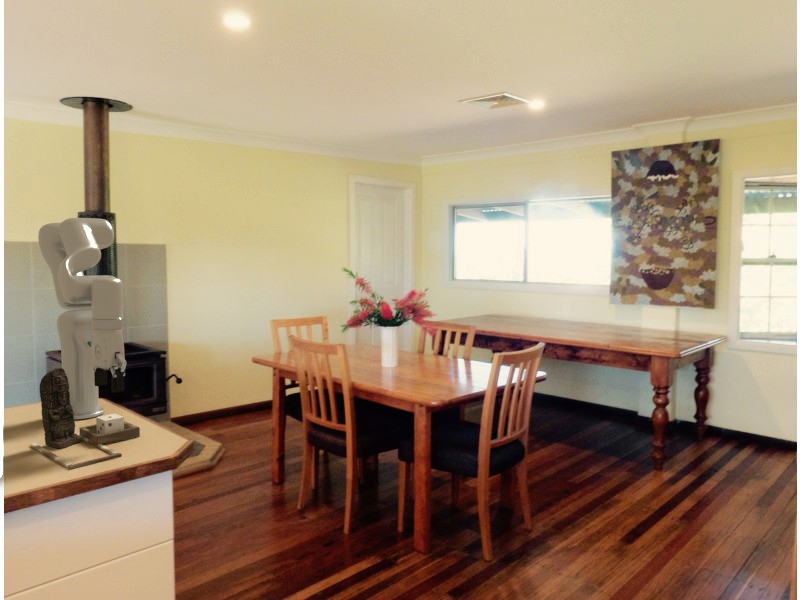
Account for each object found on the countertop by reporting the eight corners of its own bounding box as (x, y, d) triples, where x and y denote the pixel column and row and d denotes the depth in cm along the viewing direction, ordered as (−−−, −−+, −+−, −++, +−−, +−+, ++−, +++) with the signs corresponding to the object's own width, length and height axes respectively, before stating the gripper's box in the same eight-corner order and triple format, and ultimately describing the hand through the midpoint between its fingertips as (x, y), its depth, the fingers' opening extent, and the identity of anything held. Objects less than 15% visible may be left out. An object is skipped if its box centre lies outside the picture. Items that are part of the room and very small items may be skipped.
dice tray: (79, 436, 166) (79, 427, 166) (120, 428, 175) (120, 419, 174) (98, 446, 159) (98, 436, 159) (139, 436, 168) (139, 427, 167)
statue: (60, 449, 156) (57, 371, 154) (39, 445, 159) (36, 368, 157) (82, 441, 163) (80, 366, 161) (62, 438, 165) (59, 363, 163)
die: (96, 435, 166) (96, 417, 166) (115, 431, 170) (114, 413, 169) (105, 439, 163) (104, 420, 162) (124, 435, 167) (123, 416, 166)
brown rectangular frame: (30, 445, 158) (30, 443, 158) (79, 435, 168) (79, 433, 168) (70, 469, 143) (70, 466, 143) (121, 456, 152) (121, 453, 152)
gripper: (78, 322, 166) (80, 385, 168) (108, 329, 155) (110, 396, 157) (106, 320, 172) (108, 381, 174) (137, 326, 161) (139, 391, 163)
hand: (109, 388), depth 165 cm, fingers open, 9 cm apart
